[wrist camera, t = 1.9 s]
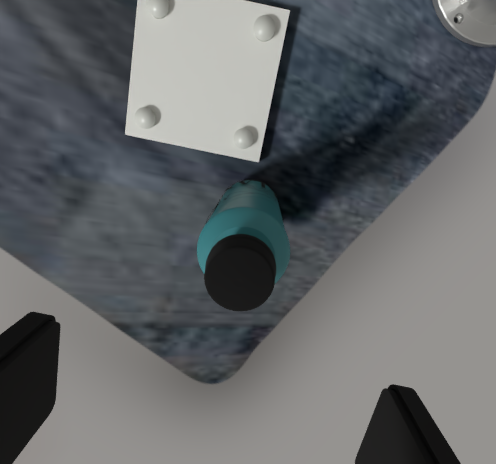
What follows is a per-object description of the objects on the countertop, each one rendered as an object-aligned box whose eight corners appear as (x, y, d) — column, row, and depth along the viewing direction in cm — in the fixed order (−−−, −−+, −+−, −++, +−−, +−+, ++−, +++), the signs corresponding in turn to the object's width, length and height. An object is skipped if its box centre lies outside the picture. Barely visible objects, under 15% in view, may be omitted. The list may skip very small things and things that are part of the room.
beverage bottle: (286, 185, 36) (318, 238, 17) (269, 241, 38) (281, 347, 19) (228, 169, 36) (193, 204, 16) (214, 226, 38) (167, 319, 18)
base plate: (288, 14, 32) (290, 7, 30) (258, 161, 35) (258, 162, 34) (144, -17, 31) (137, -26, 30) (129, 134, 35) (122, 134, 33)
